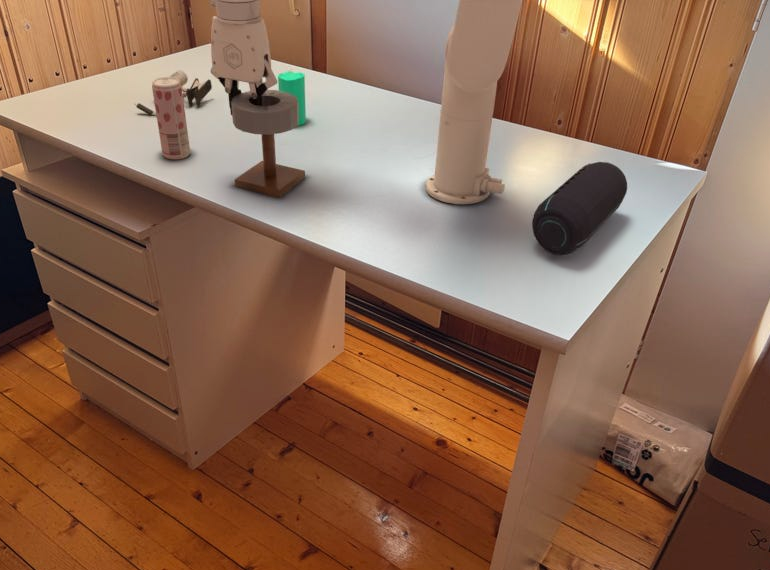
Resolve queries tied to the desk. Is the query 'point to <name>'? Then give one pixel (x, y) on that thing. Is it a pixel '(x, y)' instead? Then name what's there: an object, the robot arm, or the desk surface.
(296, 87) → the candle
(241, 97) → the tape
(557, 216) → the portable speaker
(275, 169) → the rack
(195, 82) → the clip-on lamp
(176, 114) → the beverage can
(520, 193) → the desk surface
